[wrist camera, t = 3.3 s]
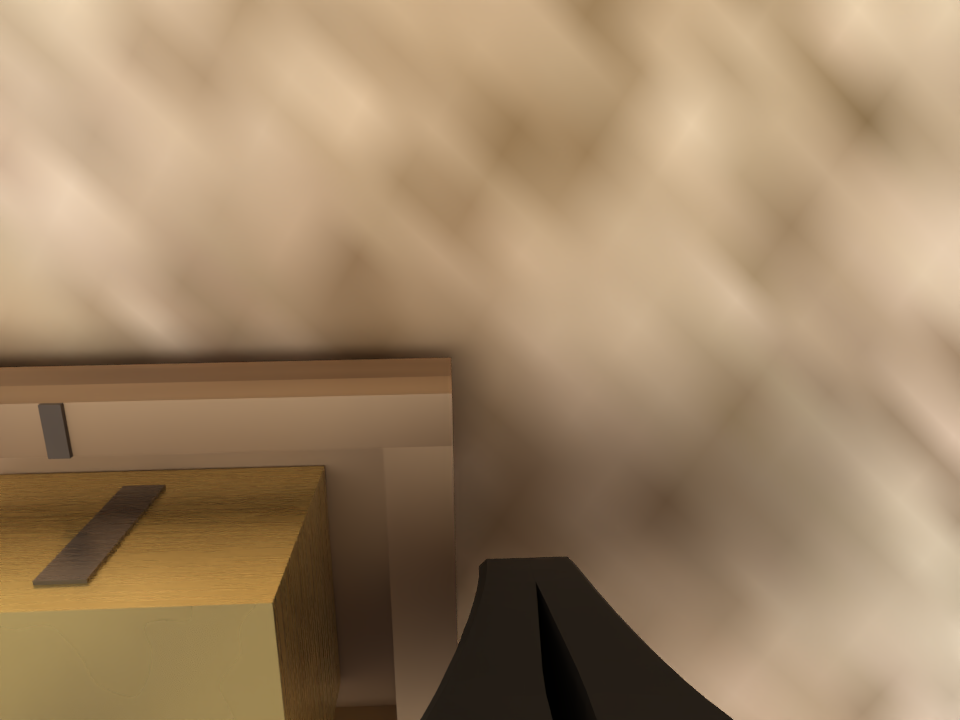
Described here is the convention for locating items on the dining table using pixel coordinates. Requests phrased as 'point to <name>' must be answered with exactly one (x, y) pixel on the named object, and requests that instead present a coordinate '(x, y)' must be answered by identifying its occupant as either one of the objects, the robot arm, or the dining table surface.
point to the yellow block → (167, 596)
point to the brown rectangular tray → (289, 443)
